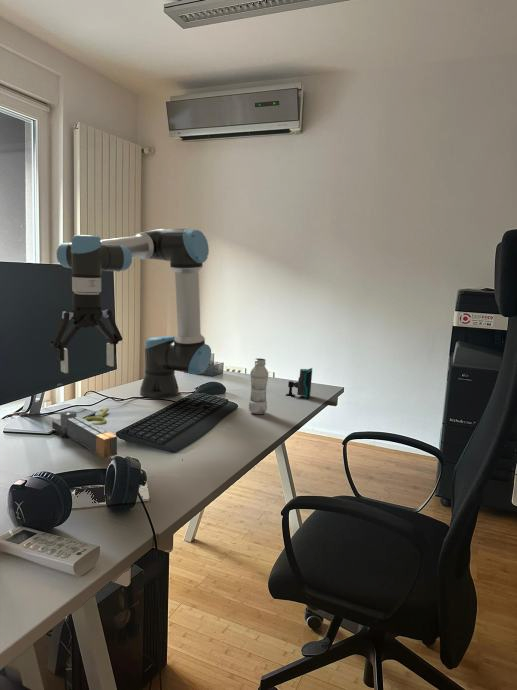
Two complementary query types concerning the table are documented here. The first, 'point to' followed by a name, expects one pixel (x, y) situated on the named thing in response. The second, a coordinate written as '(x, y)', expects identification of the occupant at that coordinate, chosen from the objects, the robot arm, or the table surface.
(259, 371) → the plastic bottle
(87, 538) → the table surface
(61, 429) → the tongs pivot
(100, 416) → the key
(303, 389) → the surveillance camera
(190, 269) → the robot arm
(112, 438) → the tongs jaw
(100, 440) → the tongs jaw
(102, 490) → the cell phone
